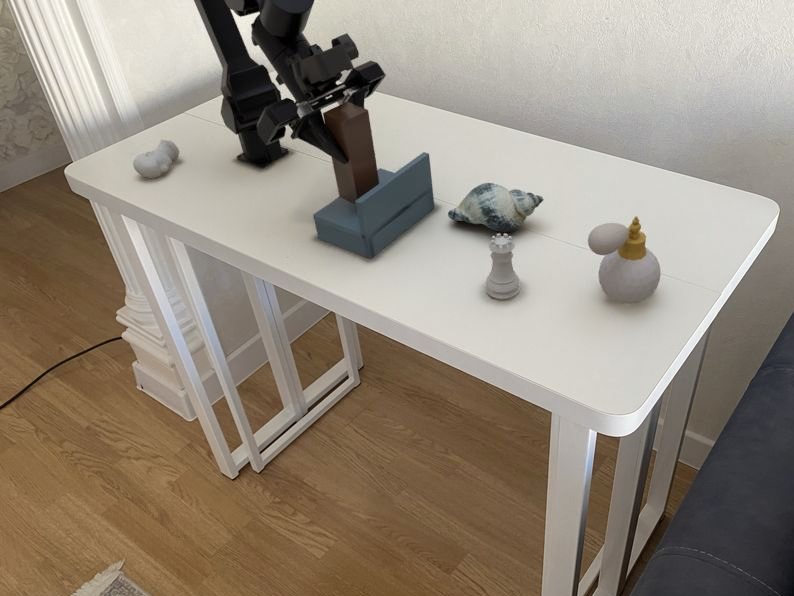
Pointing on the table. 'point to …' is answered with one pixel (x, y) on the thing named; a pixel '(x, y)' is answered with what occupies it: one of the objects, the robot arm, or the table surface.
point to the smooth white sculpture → (156, 159)
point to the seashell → (496, 207)
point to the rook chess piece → (502, 269)
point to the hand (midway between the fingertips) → (359, 156)
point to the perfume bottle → (625, 262)
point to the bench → (379, 210)
